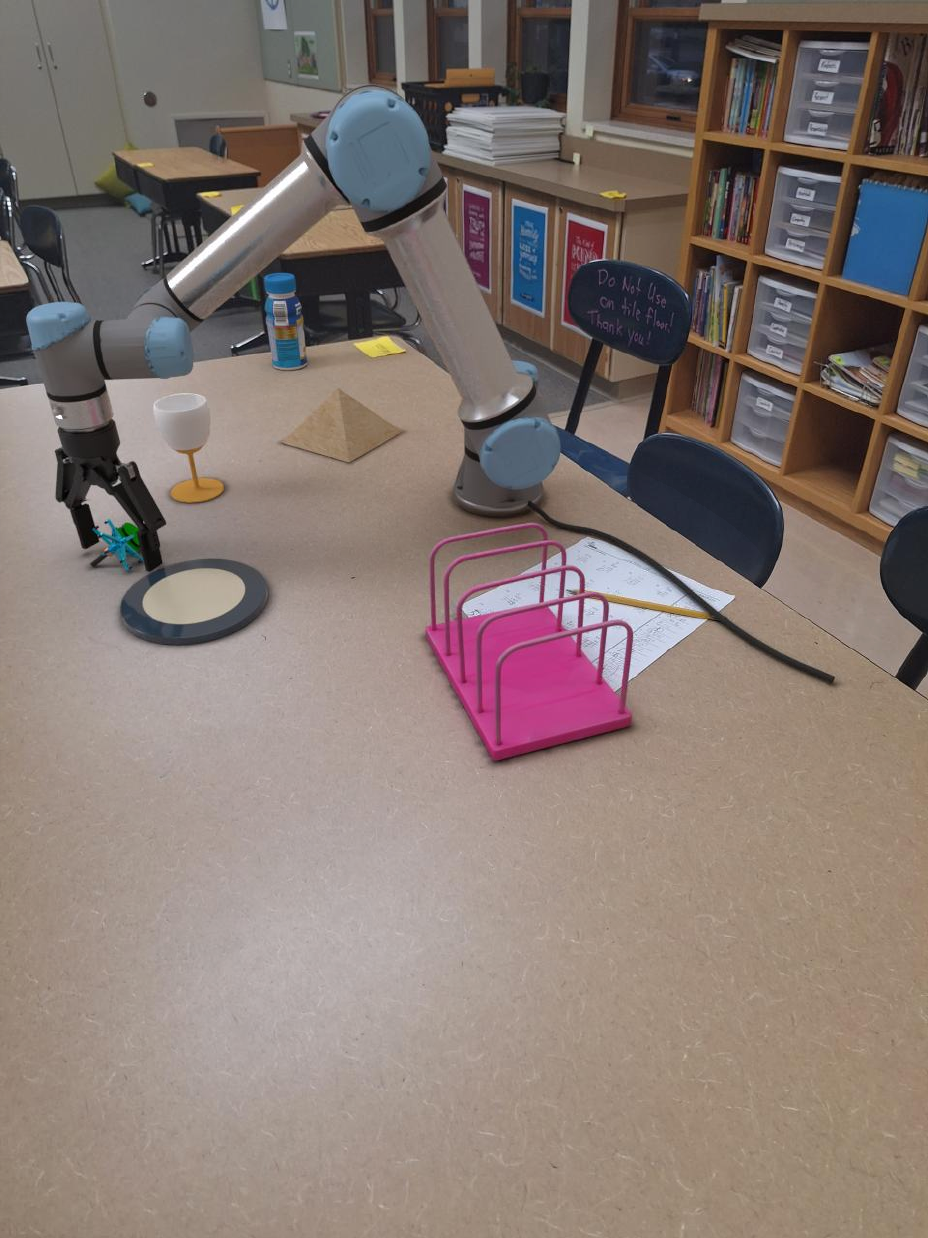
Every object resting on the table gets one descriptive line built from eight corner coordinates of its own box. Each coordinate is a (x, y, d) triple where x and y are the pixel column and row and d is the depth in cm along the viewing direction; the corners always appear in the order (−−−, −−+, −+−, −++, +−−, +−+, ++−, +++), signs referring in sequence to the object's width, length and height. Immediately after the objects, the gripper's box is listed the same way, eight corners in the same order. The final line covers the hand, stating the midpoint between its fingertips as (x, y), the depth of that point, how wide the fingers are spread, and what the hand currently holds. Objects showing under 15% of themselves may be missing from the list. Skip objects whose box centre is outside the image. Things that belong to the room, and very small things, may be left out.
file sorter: (493, 763, 96) (495, 652, 86) (424, 637, 115) (420, 534, 106) (632, 727, 100) (648, 617, 91) (544, 611, 120) (550, 511, 110)
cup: (159, 497, 148) (138, 408, 138) (192, 475, 154) (174, 389, 145) (203, 506, 145) (185, 416, 136) (234, 484, 152) (219, 396, 142)
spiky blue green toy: (133, 567, 125) (96, 524, 123) (98, 593, 126) (61, 551, 125) (162, 546, 136) (129, 506, 134) (130, 570, 138) (96, 532, 136)
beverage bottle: (264, 366, 201) (252, 276, 190) (292, 356, 207) (281, 269, 195) (288, 374, 197) (276, 283, 185) (315, 364, 202) (306, 275, 191)
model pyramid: (404, 430, 170) (402, 381, 165) (349, 462, 159) (344, 411, 153) (338, 413, 178) (334, 366, 172) (281, 443, 166) (274, 393, 160)
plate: (296, 586, 125) (295, 579, 124) (199, 662, 111) (198, 654, 110) (193, 552, 133) (191, 545, 132) (90, 618, 119) (88, 611, 118)
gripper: (1, 415, 120) (45, 546, 132) (130, 450, 110) (164, 589, 123) (46, 397, 125) (84, 525, 138) (172, 430, 116) (201, 564, 128)
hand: (122, 556), depth 130 cm, fingers open, 13 cm apart
